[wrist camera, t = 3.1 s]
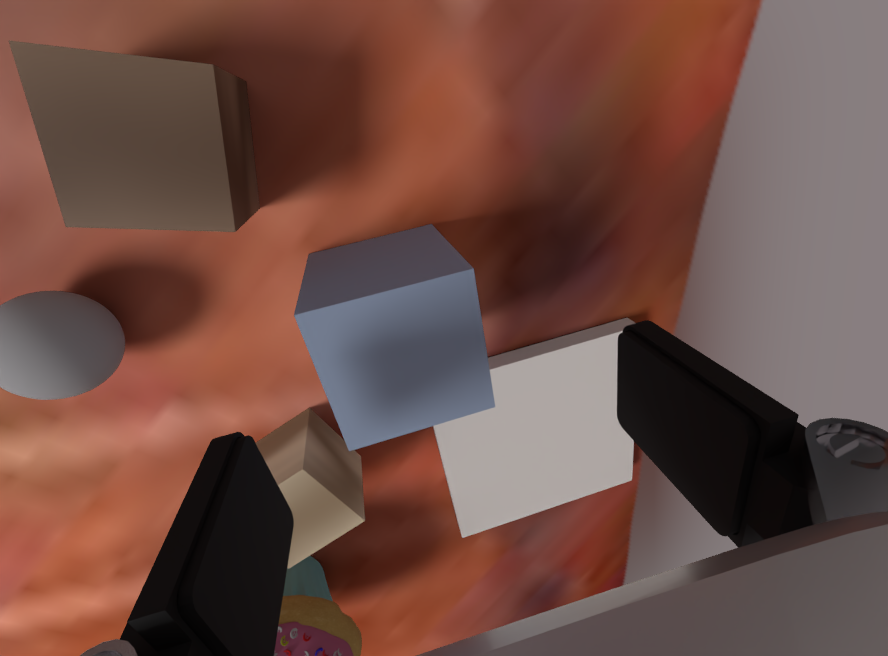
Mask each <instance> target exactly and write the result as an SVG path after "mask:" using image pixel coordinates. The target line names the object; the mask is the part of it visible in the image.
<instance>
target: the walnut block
mask: <svg viewBox="0 0 888 656" xmlns="http://www.w3.org/2000/svg"><path fill="white" fill-rule="evenodd" d="M9 43H10V47H11V50H12V53H13V56H14V60H15V63H16V66H17V69H18V73H19V76H20V79H21V82H22V86H23V89H24V92H25V95H26V99H27V102H28V105H29V108H30V112H31V115H32V118H33V121H34V125H35V128H36V131H37V135H38V138H39V141H40V144H41V148H42V151H43V154H44V157H45V161H46V164H47V167H48V170H49V174H50V177H51V180H52V183H53V187H54V190H55V193H56V196H57V200H58V203H59V206H60V209H61V213H62V216H63V219H64V223H65V226H66V227H83V228H118V229H152V230H186V231H220V232H236V231H237V230H238V229H239V228H240V227H241V226H242V225H243V224H244V223H245V222H246V221H247V220H248V219H249V218H250V217H251V216H252V215H253V214H254V213H256V212H257V211H258V210H259V209H260V205H259V196H258V186H257V177H256V168H255V159H254V149H253V140H252V131H251V121H250V112H249V103H248V93H247V84H246V81H244V80H242V79H240V78H238V77H237V76H235V75H233V74H231V73H229V72H227V71H225V70H223V69H221V68H219V67H217V66H215V65H213V64H205V63H197V62H188V61H179V60H171V59H162V58H154V57H145V56H137V55H128V54H119V53H111V52H102V51H94V50H85V49H76V48H68V47H59V46H51V45H42V44H33V43H25V42H16V41H9Z"/></svg>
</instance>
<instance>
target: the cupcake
mask: <svg viewBox="0 0 888 656" xmlns="http://www.w3.org/2000/svg"><path fill="white" fill-rule="evenodd" d="M361 648H362V638H361V632H360V630H359V628H358V627H357V626H356V624H355V622H354V621H353V620H352V618H351V617H349V616H348V615H346V614H344V613H342V611H341V610H340V608H339V606H338V605H337V604H336V603H335V602H333V600H332V598H331V595H330V592H329V589H328V585H327V582H326V578H325V574H324V571H323V568H322V566H321V564H320V563H319V562H318V561H317V560H316V559H315V558H313V557H311V556H308V557H307V558H305V559H304V560H302V561H300V562H299V563H297V564H296V565H294V566H292V567H291V568H289V569H288V568H287V573H286V579H285V586H284V593H283V599H282V606H281V612H280V619H279V625H278V632H277V638H276V645H275V651H274V656H360V654H361Z"/></svg>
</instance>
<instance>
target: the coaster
mask: <svg viewBox="0 0 888 656" xmlns="http://www.w3.org/2000/svg"><path fill="white" fill-rule="evenodd" d="M631 324H635V322H633V321H632V320H630V319H629V318H624V319H620V320H617V321H614V322H610V323H607V324H603V325H600V326H596V327H593V328H589V329H586V330H582V331H579V332H575V333H572V334H569V335H565V336H562V337H558V338H555V339H551V340H548V341H544V342H541V343H537V344H534V345H530V346H527V347H524V348H520V349H517V350H513V351H510V352H506V353H503V354H499V355H496V356H492V357H489V358H488V363H489V369H490V376H491V382H492V388H493V395H494V401H495V407H494V408H490V409H487V410H484V411H481V412H477V413H474V414H471V415H467V416H464V417H461V418H458V419H454V420H451V421H448V422H444V423H441V424H438V425H435V426H433V429H434V433H435V437H436V441H437V445H438V449H439V452H440V456H441V460H442V464H443V468H444V472H445V476H446V479H447V483H448V487H449V491H450V495H451V499H452V503H453V506H454V510H455V514H456V518H457V522H458V526H459V529H460V532H461V535H462V538H464V537H467V536H470V535H473V534H476V533H478V532H481V531H484V530H487V529H490V528H493V527H496V526H499V525H502V524H505V523H508V522H511V521H514V520H517V519H520V518H522V517H525V516H528V515H531V514H534V513H537V512H540V511H543V510H546V509H549V508H552V507H555V506H558V505H561V504H564V503H566V502H569V501H572V500H575V499H578V498H581V497H584V496H587V495H590V494H593V493H596V492H599V491H602V490H605V489H608V488H610V487H613V486H616V485H619V484H622V483H625V482H628V481H631V480H632V469H633V450H634V440H633V439H632V438H631V437H630V436H629V435H628V434H627V433H626V432H625V431H624V429H623V428H622V427H621V425H620V424H619V421H618V418H617V355H618V336H619V334H620V333H623V329H624V327H626V326H628V325H631Z"/></svg>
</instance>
